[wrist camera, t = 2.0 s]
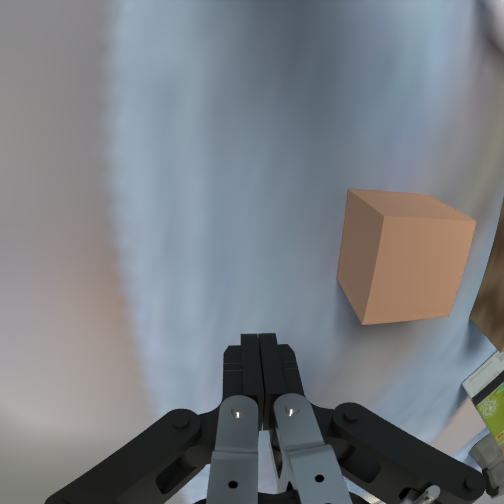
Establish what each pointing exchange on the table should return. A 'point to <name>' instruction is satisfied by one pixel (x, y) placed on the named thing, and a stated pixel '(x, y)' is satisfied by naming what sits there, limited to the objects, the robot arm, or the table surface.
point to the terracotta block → (402, 255)
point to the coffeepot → (490, 464)
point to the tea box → (489, 395)
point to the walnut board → (492, 293)
